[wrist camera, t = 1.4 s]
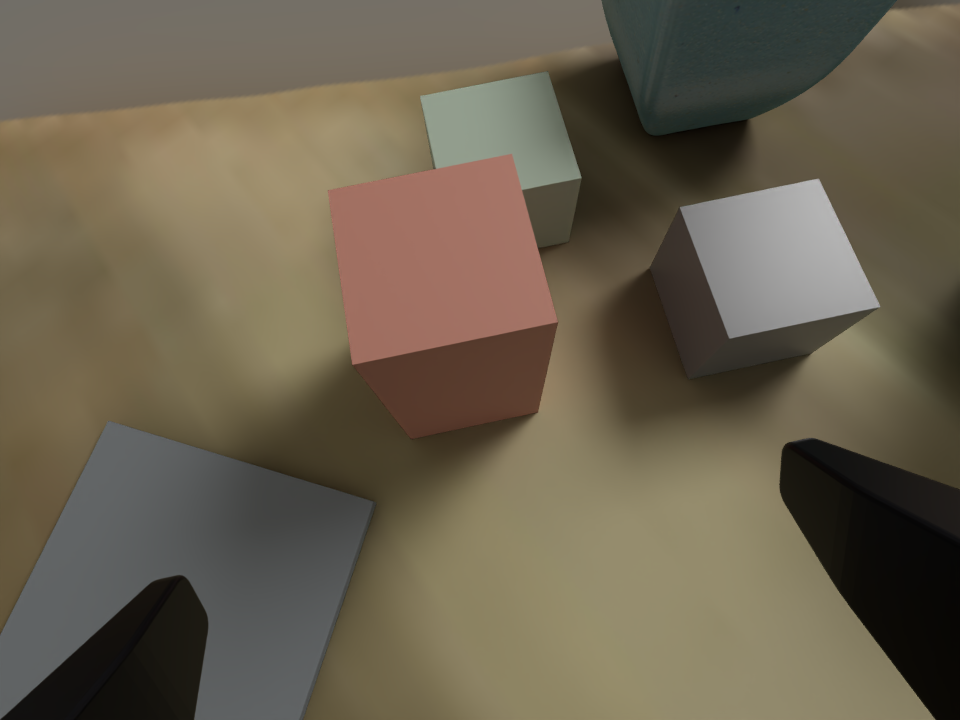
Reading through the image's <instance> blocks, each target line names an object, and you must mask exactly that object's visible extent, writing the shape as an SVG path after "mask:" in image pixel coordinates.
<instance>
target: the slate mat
mask: <svg viewBox="0 0 960 720" xmlns="http://www.w3.org/2000/svg"><path fill="white" fill-rule="evenodd" d="M375 506H376V502H374V501H370V500H367V499H364V498H360V497H357V496H354V495H351V494H347V493H344V492H341V491H337V490H334V489H331V488H328V487H324V486H321V485H318V484H314V483H311V482H308V481H305V480H301V479H298V478H295V477H291V476H288V475H285V474H282V473H278V472H275V471H272V470H268V469H265V468H262V467H259V466H255V465H252V464H249V463H245V462H242V461H239V460H236V459H232V458H229V457H226V456H222V455H219V454H216V453H213V452H209V451H206V450H203V449H199V448H196V447H193V446H190V445H186V444H183V443H180V442H176V441H173V440H170V439H167V438H163V437H160V436H157V435H153V434H150V433H147V432H144V431H140V430H137V429H134V428H130V427H127V426H124V425H121V424H117V423H114V422H111V421H108V422H107V424H106V426H105V428H104V430H103V432H102V434H101V436H100V438H99V440H98V442H97V444H96V446H95V448H94V450H93V452H92V454H91V456H90V458H89V460H88V462H87V464H86V466H85V468H84V470H83V472H82V474H81V476H80V478H79V480H78V482H77V484H76V486H75V488H74V490H73V492H72V494H71V496H70V498H69V500H68V502H67V504H66V506H65V508H64V510H63V512H62V514H61V516H60V518H59V520H58V522H57V524H56V526H55V528H54V530H53V532H52V534H51V536H50V538H49V540H48V541H47V543H46V545H45V547H44V549H43V551H42V553H41V555H40V557H39V559H38V561H37V563H36V565H35V567H34V569H33V571H32V573H31V575H30V577H29V579H28V581H27V583H26V585H25V587H24V589H23V591H22V593H21V595H20V597H19V599H18V601H17V603H16V605H15V607H14V609H13V611H12V613H11V615H10V617H9V619H8V621H7V623H6V625H5V627H4V629H3V631H2V633H1V635H0V719H1V718H2V717H3V716H5V715H6V714H7V713H8V712H9V711H10V710H11V709H12V708H13V707H14V706H16V705H17V704H18V703H19V702H20V701H21V700H22V699H23V698H24V697H25V696H27V695H28V694H29V693H30V692H31V691H32V690H33V689H34V688H35V687H36V686H38V685H39V684H40V683H41V682H42V681H43V680H44V679H45V678H46V677H47V676H49V675H50V674H51V673H52V672H53V671H54V670H55V669H56V668H57V667H58V666H60V665H61V664H62V663H63V662H64V661H65V660H66V659H67V658H68V657H69V656H70V655H72V654H73V653H74V652H75V651H76V650H77V649H78V648H79V647H80V646H81V645H83V644H84V643H85V642H86V641H87V640H88V639H89V638H90V637H91V636H92V635H94V634H95V633H96V632H97V631H98V630H99V629H100V628H101V627H102V626H103V625H105V624H106V623H107V622H108V621H109V620H110V619H111V618H112V617H113V616H114V615H116V614H117V613H118V612H119V611H120V610H121V609H122V608H123V607H124V606H125V605H127V604H128V603H129V602H130V601H131V600H132V599H133V598H134V597H135V596H136V595H138V594H139V593H140V592H141V591H142V590H143V589H144V588H145V587H146V586H147V585H149V584H150V583H151V582H153V581H154V580H157V579H161V578H166V577H170V576H175V575H183V576H185V577H186V578H187V579H188V580H189V581H190V583H191V585H192V587H193V589H194V590H195V592H196V594H197V596H198V598H199V599H200V601H201V603H202V605H203V607H204V609H205V610H206V613H207V616H208V622H209V628H208V636H207V642H206V648H205V655H204V661H203V667H202V674H201V680H200V686H199V693H198V699H197V706H196V712H195V718H194V720H303V718H304V715H305V712H306V709H307V706H308V703H309V700H310V697H311V694H312V691H313V688H314V685H315V682H316V679H317V676H318V674H319V671H320V668H321V665H322V662H323V659H324V656H325V653H326V650H327V647H328V644H329V641H330V638H331V635H332V632H333V629H334V626H335V624H336V621H337V618H338V615H339V612H340V609H341V606H342V603H343V600H344V597H345V594H346V591H347V588H348V585H349V582H350V579H351V576H352V574H353V571H354V568H355V565H356V562H357V559H358V556H359V553H360V550H361V547H362V544H363V541H364V538H365V535H366V532H367V529H368V526H369V524H370V521H371V518H372V515H373V512H374V509H375Z"/></svg>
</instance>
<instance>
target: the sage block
mask: <svg viewBox="0 0 960 720" xmlns="http://www.w3.org/2000/svg"><path fill="white" fill-rule="evenodd" d="M420 98H421V104H422V109H423V115H424V120H425V126H426V131H427V136H428V142H429V147H430V153H431V158H432V164H433V169H438V168H443V167H448V166H453V165H458V164H463V163H468V162H473V161H478V160H483V159H488V158H493V157H498V156H503V155H508V154H512V156H513V159H514V163H515V167H516V170H517V174H518V178H519V181H520V185H521V189H522V192H523V196H524V200H525V203H526V207H527V211H528V214H529V218H530V222H531V225H532V229H533V233H534V236H535V240H536V244H537V247H538V248H541V247H546V246H551V245H556V244H561V243H566V242H569V238H570V233H571V228H572V223H573V218H574V213H575V208H576V203H577V198H578V193H579V188H580V184H581V179H582V177H581V174H580V171H579V168H578V165H577V162H576V159H575V155H574V152H573V149H572V146H571V143H570V140H569V137H568V133H567V130H566V127H565V124H564V121H563V118H562V114H561V111H560V108H559V105H558V102H557V99H556V96H555V92H554V89H553V86H552V83H551V80H550V77H549V74H548V71H546V72H541V73H536V74H531V75H526V76H521V77H516V78H511V79H505V80H500V81H495V82H490V83H485V84H480V85H475V86H470V87H465V88H460V89H454V90H449V91H444V92H439V93H434V94H429V95H424V96H420Z"/></svg>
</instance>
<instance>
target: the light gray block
mask: <svg viewBox="0 0 960 720" xmlns="http://www.w3.org/2000/svg"><path fill="white" fill-rule="evenodd" d="M650 270H651V273H652V276H653V279H654V282H655V285H656V288H657V291H658V293H659V296H660V299H661V302H662V305H663V308H664V311H665V314H666V317H667V320H668V323H669V326H670V328H671V331H672V334H673V337H674V340H675V343H676V346H677V349H678V352H679V355H680V358H681V360H682V363H683V366H684V369H685V372H686V375H687V378H688V379H692V378H697V377H702V376H707V375H711V374H716V373H721V372H725V371H730V370H735V369H740V368H744V367H749V366H754V365H758V364H763V363H768V362H772V361H777V360H782V359H787V358H791V357H796V356H801V355H805V354H810V353H813V352H814V351H816V350H817V349H818V348H820V347H821V346H823V345H824V344H826V343H827V342H829V341H830V340H832V339H833V338H835V337H836V336H838V335H839V334H841V333H842V332H844V331H845V330H847V329H848V328H850V327H851V326H853V325H854V324H856V323H857V322H859V321H860V320H861V319H863V318H864V317H866V316H867V315H869V314H870V313H872V312H873V311H875V310H876V309H878V308H879V307H880V305H879V303H878V301H877V299H876V297H875V295H874V293H873V291H872V289H871V286H870V284H869V282H868V280H867V278H866V276H865V274H864V272H863V270H862V268H861V266H860V264H859V262H858V260H857V257H856V255H855V253H854V251H853V249H852V247H851V245H850V243H849V241H848V239H847V237H846V235H845V233H844V230H843V228H842V226H841V224H840V222H839V220H838V218H837V216H836V214H835V212H834V210H833V208H832V206H831V203H830V201H829V199H828V197H827V195H826V193H825V191H824V189H823V187H822V185H821V183H820V181H819V179H815V180H810V181H805V182H801V183H796V184H791V185H786V186H781V187H776V188H771V189H766V190H761V191H756V192H751V193H747V194H742V195H737V196H732V197H727V198H722V199H717V200H712V201H707V202H702V203H698V204H693V205H688V206H683V207H679V209H678V212H677V214H676V216H675V218H674V220H673V222H672V224H671V226H670V228H669V230H668V232H667V234H666V236H665V238H664V240H663V242H662V244H661V246H660V248H659V250H658V252H657V254H656V256H655V258H654V260H653V262H652V264H651V266H650Z"/></svg>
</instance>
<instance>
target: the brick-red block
mask: <svg viewBox="0 0 960 720" xmlns="http://www.w3.org/2000/svg"><path fill="white" fill-rule="evenodd" d="M328 194H329V202H330V209H331V216H332V223H333V230H334V237H335V244H336V252H337V259H338V266H339V273H340V280H341V287H342V294H343V301H344V309H345V316H346V323H347V330H348V337H349V344H350V351H351V359H352V365H353V366H354V368H355V369H356V370H357V371H358V373H359V374H360V375H361V376H362V378H363V379H364V380H365V381H366V383H367V384H368V385H369V387H370V388H371V389H372V390H373V392H374V393H375V394H376V395H377V397H378V398H379V399H380V401H381V402H382V403H383V404H384V406H385V407H386V408H387V409H388V411H389V412H390V413H391V414H392V416H393V417H394V418H395V420H396V421H397V422H398V423H399V425H400V426H401V427H402V428H403V430H404V431H405V432H406V434H407V435H408V436H409V437H410V439H414V438H419V437H424V436H428V435H433V434H438V433H443V432H447V431H452V430H457V429H461V428H466V427H471V426H476V425H480V424H485V423H490V422H494V421H499V420H504V419H509V418H513V417H518V416H523V415H527V414H532V413H537V412H538V409H539V405H540V401H541V396H542V392H543V387H544V383H545V378H546V374H547V369H548V365H549V360H550V356H551V351H552V347H553V342H554V338H555V333H556V329H557V324H558V320H557V317H556V313H555V309H554V306H553V302H552V298H551V295H550V291H549V287H548V284H547V280H546V276H545V273H544V269H543V266H542V262H541V258H540V255H539V251H538V247H537V244H536V240H535V236H534V233H533V229H532V225H531V222H530V218H529V214H528V211H527V207H526V203H525V200H524V196H523V192H522V189H521V185H520V181H519V178H518V174H517V170H516V167H515V163H514V159H513V156H512V154H508V155H503V156H498V157H493V158H488V159H483V160H478V161H473V162H468V163H463V164H458V165H453V166H448V167H443V168H438V169H433V170H428V171H423V172H418V173H413V174H408V175H403V176H398V177H393V178H388V179H383V180H378V181H373V182H368V183H363V184H358V185H353V186H348V187H343V188H338V189H333V190H328Z"/></svg>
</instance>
